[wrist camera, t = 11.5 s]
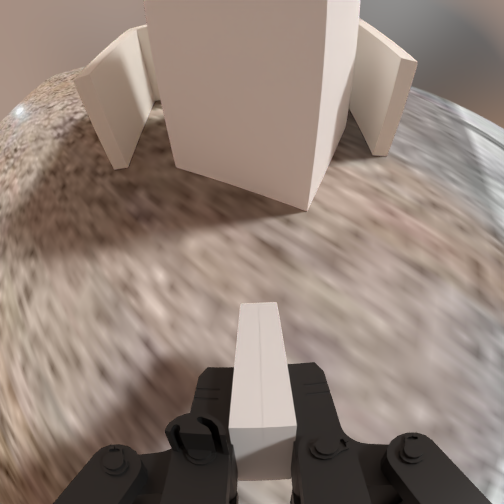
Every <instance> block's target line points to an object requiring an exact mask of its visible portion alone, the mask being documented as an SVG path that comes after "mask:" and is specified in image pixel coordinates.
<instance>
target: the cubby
mask: <svg viewBox="0 0 504 504" xmlns="http://www.w3.org/2000/svg"><path fill="white" fill-rule="evenodd" d="M417 64H418V62H417V61H416V60H415V59H414V58H413V57H411V56H410V55H409V54H408V53H406V52H405V51H404V50H403V49H401V48H400V47H399V46H398V45H397V44H395V43H394V42H393V41H391V40H390V39H389V38H387V37H386V36H385V35H383V34H382V33H380V32H379V31H378V30H376V29H375V28H374V27H372V26H371V25H369V24H368V23H366V22H365V21H363V20H362V19H360V18H359V26H358V37H357V48H356V57H355V66H354V74H353V82H352V89H351V96H350V103H349V109H350V111H351V113H352V115H353V117H354V119H355V121H356V122H357V124H358V126H359V128H360V130H361V132H362V134H363V136H364V138H365V140H366V142H367V144H368V146H369V149H370V151H371V153H372V155H376V156H387V155H388V152H389V149H390V147H391V144H392V141H393V139H394V136H395V133H396V130H397V127H398V124H399V122H400V119H401V116H402V113H403V110H404V107H405V104H406V101H407V97H408V94H409V91H410V88H411V84H412V81H413V78H414V74H415V71H416V67H417ZM73 81H74V84H75V86H76V89H77V91H78V93H79V96H80V98H81V100H82V103H83V105H84V107H85V110H86V112H87V114H88V116H89V119H90V121H91V123H92V125H93V127H94V129H95V132H96V134H97V136H98V138H99V140H100V142H101V144H102V146H103V148H104V150H105V152H106V154H107V156H108V158H109V160H110V162H111V164H112V166H113V168H114V170H116V169H122V168H128V167H129V164H130V161H131V158H132V156H133V153H134V150H135V148H136V145H137V143H138V140H139V138H140V135H141V133H142V130H143V128H144V125H145V123H146V121H147V118H148V116H149V114H150V111H151V109H152V107H153V105H154V102H155V101H158V100H161V99H160V94H159V89H158V84H157V79H156V74H155V69H154V64H153V58H152V53H151V47H150V41H149V35H148V29H147V24H146V25H142V26H138V27H135V28H131V29H128V30H127V31H126V32H124V33H123V34H122V35H120V36H119V37H118V38H117V39H116V40H115V41H113V42H112V43H111V44H110V45H109V46H108V47H106V48H105V49H104V50H103V51H102V52H101V53H100V54H99V55H98V56H97V57H96V58H94V59H93V60H92V61H91V62H90V63H89V64H88V65H87V66H86V67H85V68H84V69H83V70H82V71H81V72H80V73H79V74H78V75H77V76H76V77H75V79H74V80H73Z"/></svg>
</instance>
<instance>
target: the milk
mask: <svg viewBox="0 0 504 504" xmlns="http://www.w3.org/2000/svg"><path fill="white" fill-rule="evenodd" d="M143 2H144V9H145V16H146V23H147V29H148V35H149V41H150V47H151V53H152V58H153V64H154V69H155V74H156V79H157V84H158V89H159V94H160V99H161V104H162V109H163V113H164V118H165V122H166V127H167V131H168V136H169V140H170V144H171V149H172V153H173V157H174V161H175V165H176V168H180V169H183V170H186V171H190V172H193V173H196V174H199V175H202V176H206V177H209V178H212V179H215V180H218V181H221V182H224V183H227V184H230V185H233V186H236V187H239V188H242V189H245V190H248V191H251V192H254V193H257V194H260V195H263V196H266V197H268V198H271V199H274V200H277V201H280V202H282V203H285V204H288V205H291V206H293V207H296V208H299V209H301V210H304V211H308V208H309V206H310V204H311V202H312V200H313V198H314V196H315V194H316V191H317V189H318V187H319V185H320V183H321V181H322V179H323V176H324V174H325V172H326V170H327V168H328V165H329V163H330V161H331V159H332V157H333V154H334V152H335V150H336V148H337V146H338V143H339V141H340V139H341V137H342V134H343V132H344V130H345V128H346V122H347V116H348V110H349V103H350V96H351V89H352V82H353V74H354V66H355V57H356V48H357V37H358V26H359V13H360V0H143Z"/></svg>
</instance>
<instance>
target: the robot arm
mask: <svg viewBox="0 0 504 504" xmlns="http://www.w3.org/2000/svg"><path fill="white" fill-rule="evenodd" d="M165 433H166V436H167V438H168V440H169V443H170V445H171V447H172V449H169V450H167V451H164V452H159V453H151V454H142V455H138V454H137V453H136V451H134V450H133V449H131V448H130V447H128V446H124V445H120V444H118V445H109V446H106V447H103V448H101V449H100V450H99V451H98V452H96V453H95V454H94V455H93V457H92V458H91V459H90V460H89V461H88V463H87V464H86V465H85V466H84V467H83V469H82V470H81V471H80V472H79V473H78V475H77V476H76V477H75V478H74V479H73V481H72V482H71V483H70V484H69V485H68V486H67V488H66V489H65V490H64V491H63V492H62V494H61V495H60V496H59V497H58V498H57V500H56V501H55V502H54V503H53V504H238V493H237V479H238V481H257V480H280V479H291V477H292V487H293V489H292V495H291V501H290V504H492V503H491V502H490V501H489V500H488V499H487V498H486V497H485V496H484V495H483V494H482V493H481V492H480V491H479V489H478V488H477V487H476V486H475V485H474V484H473V483H472V482H471V481H470V480H469V479H468V478H467V477H466V476H465V475H464V474H463V472H462V471H461V470H460V469H459V468H458V467H457V466H456V465H455V464H454V463H453V462H452V461H451V460H450V459H449V458H448V457H447V455H446V454H445V453H444V452H443V451H442V450H441V449H440V448H439V447H438V446H437V445H436V444H435V443H434V442H433V441H432V440H431V439H430V438H428V437H427V436H426V435H423V434H419V433H405V434H402V435H399V436H397V437H396V438H395V439H393V440H392V441H391V442H390V444H389V445H380V444H365V443H360V442H357V441H355V440H353V439H351V438H350V437H349V436H347V435H346V434H345V433H344V432H343V430H342V428H341V425H340V422H339V419H338V416H337V412H336V409H335V406H334V403H333V399H332V396H331V393H330V390H329V387H328V384H327V381H326V377H325V374H324V371H323V370H322V369H321V368H320V367H319V366H318V365H317V364H316V363H315V362H312V363H300V364H287V360H286V353H285V347H284V341H283V335H282V329H281V323H280V318H279V312H278V306H277V302H267V303H241V304H240V313H239V323H238V333H237V344H236V354H235V364H234V367H231V368H214V367H207V369H206V370H205V371H204V372H203V373H202V374H201V375H200V376H199V379H198V383H197V387H196V391H195V395H194V400H193V403H192V407H191V411H190V413H187V414H184V415H182V416H179V417H177V418H175V419H174V420H173V421H171V422H170V423H169V424H168V426H167V428H166V429H165Z"/></svg>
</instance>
